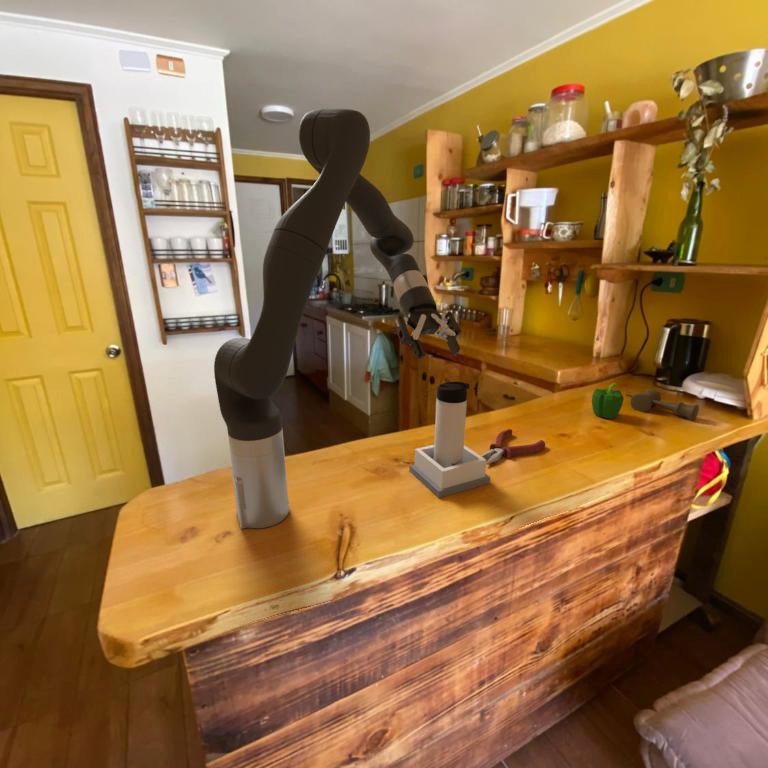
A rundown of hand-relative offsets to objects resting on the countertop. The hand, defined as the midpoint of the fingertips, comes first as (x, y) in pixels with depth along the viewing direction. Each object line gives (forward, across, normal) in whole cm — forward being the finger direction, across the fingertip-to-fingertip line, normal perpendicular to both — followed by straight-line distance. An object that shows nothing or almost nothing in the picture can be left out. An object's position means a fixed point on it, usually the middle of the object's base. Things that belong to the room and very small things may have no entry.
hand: (439, 355), depth 88 cm
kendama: (+19, +81, +19) cm, 85 cm away
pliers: (+19, +20, +19) cm, 34 cm away
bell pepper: (+16, +63, +21) cm, 68 cm away
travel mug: (+21, 0, +14) cm, 25 cm away
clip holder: (+22, 0, +15) cm, 27 cm away
